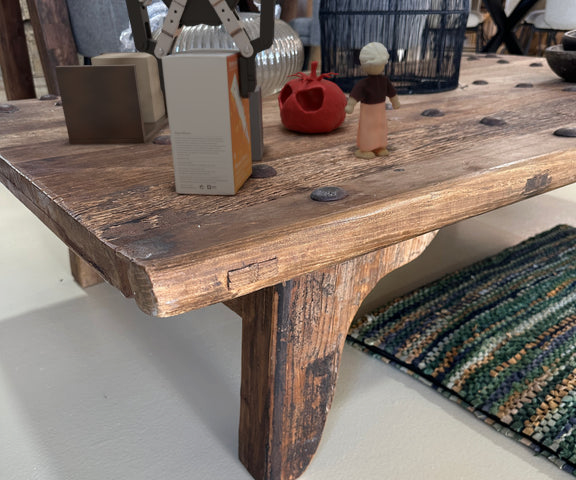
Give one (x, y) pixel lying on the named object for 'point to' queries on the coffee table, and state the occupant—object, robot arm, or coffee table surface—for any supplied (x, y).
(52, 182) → the coffee table surface
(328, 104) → the hollow red tomato
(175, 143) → the small box
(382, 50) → the grandmother figurine
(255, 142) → the matte grey upright block
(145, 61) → the book rack
